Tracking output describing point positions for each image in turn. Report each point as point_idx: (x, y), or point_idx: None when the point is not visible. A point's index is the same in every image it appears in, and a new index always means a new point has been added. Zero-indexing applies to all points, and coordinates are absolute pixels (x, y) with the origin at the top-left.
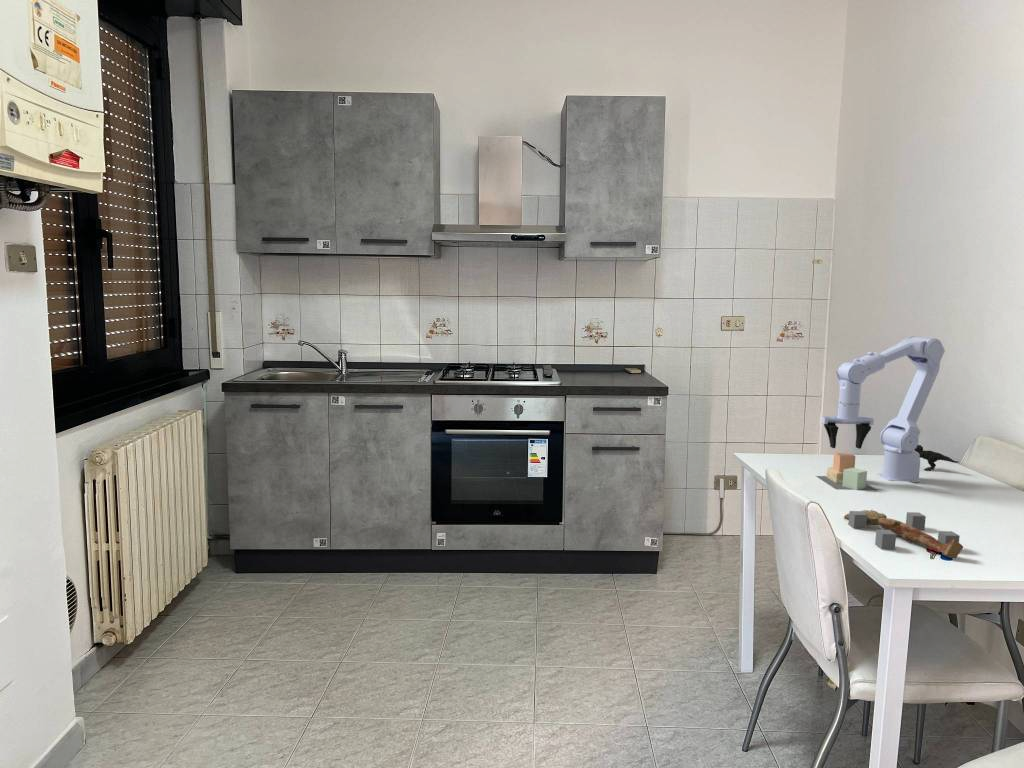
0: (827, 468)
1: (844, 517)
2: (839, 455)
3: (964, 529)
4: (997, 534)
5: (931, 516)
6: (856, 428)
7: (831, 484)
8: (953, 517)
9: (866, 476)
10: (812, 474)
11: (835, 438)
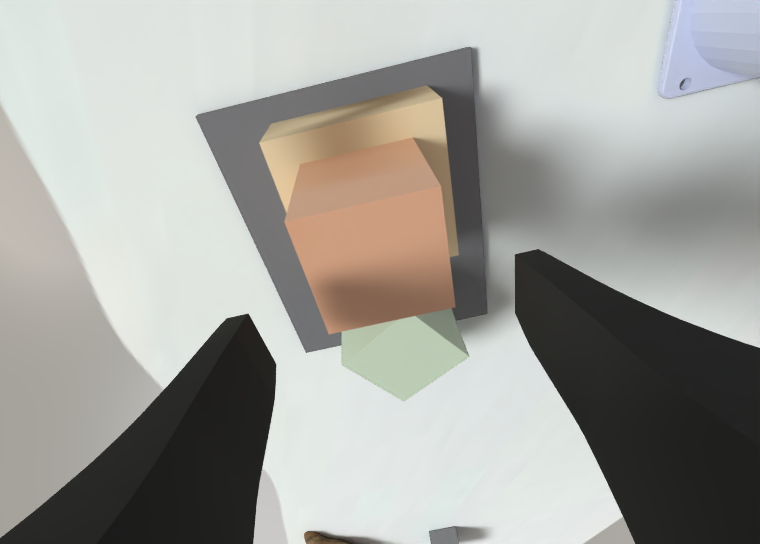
0: (262, 144)
1: (305, 538)
2: (324, 322)
3: (547, 514)
4: (595, 517)
5: (526, 475)
6: (711, 435)
7: (292, 290)
8: (579, 466)
9: (459, 335)
10: (166, 18)
11: (250, 483)
